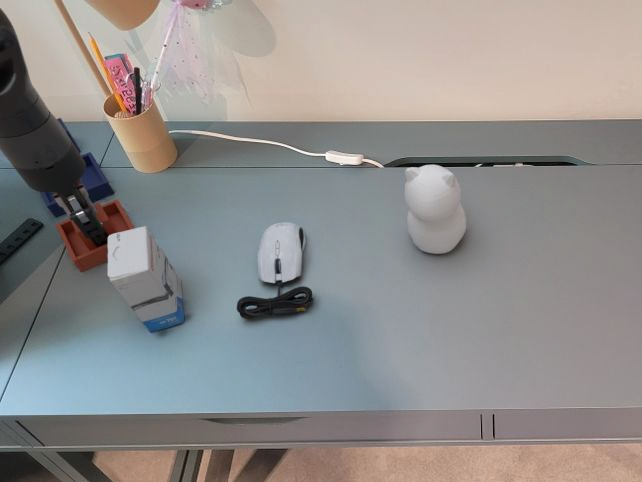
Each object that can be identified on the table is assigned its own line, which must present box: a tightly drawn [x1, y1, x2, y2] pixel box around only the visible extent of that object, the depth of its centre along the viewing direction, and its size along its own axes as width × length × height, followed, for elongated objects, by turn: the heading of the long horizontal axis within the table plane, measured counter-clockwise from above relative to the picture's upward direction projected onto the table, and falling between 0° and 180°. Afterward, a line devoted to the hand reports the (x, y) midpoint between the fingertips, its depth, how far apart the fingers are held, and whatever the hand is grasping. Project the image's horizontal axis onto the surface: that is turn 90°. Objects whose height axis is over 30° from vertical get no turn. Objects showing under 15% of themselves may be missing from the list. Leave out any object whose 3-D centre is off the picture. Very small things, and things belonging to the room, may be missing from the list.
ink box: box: [107, 225, 185, 333], centre depth 87 cm, size 9×5×12 cm, turn 21°
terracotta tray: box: [55, 198, 135, 273], centre depth 98 cm, size 9×9×2 cm
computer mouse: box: [236, 221, 314, 320], centre depth 94 cm, size 10×18×4 cm, turn 10°
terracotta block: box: [67, 202, 118, 251], centre depth 97 cm, size 4×4×4 cm
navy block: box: [56, 117, 82, 153], centre depth 110 cm, size 4×4×4 cm
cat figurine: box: [404, 164, 467, 255], centre depth 95 cm, size 9×12×15 cm
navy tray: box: [39, 151, 115, 218], centre depth 105 cm, size 9×9×2 cm
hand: (100, 235), depth 98 cm, fingers closed on terracotta block, 4 cm apart
